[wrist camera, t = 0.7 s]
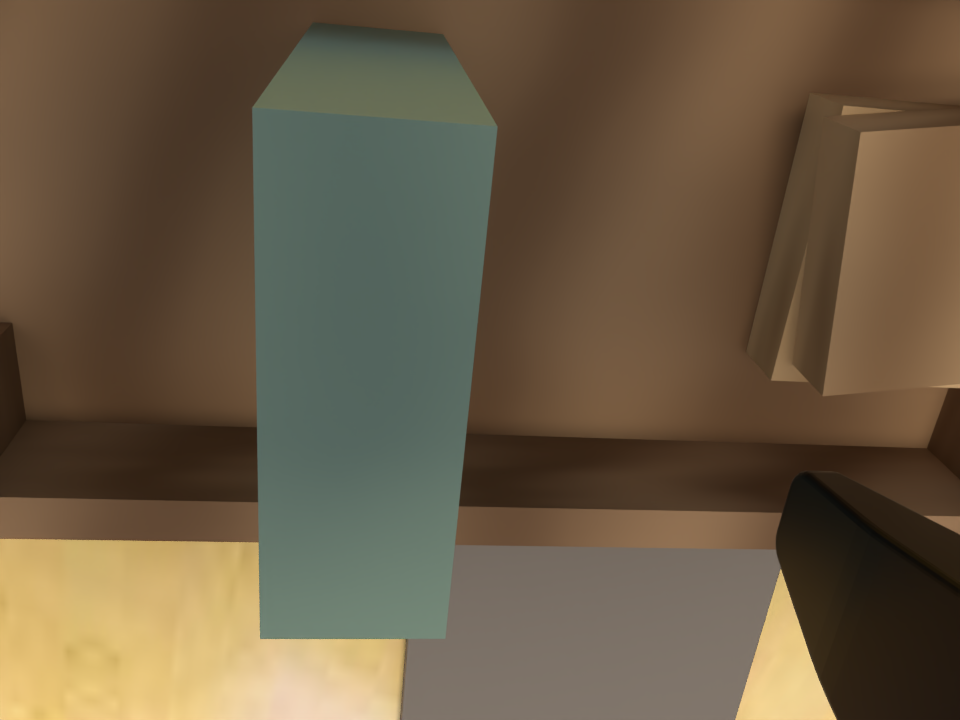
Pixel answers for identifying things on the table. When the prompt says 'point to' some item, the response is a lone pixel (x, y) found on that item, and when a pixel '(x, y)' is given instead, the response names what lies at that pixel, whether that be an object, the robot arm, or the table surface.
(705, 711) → the mat
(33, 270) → the rack
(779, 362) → the offcut
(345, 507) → the teal block
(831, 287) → the offcut
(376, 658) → the table surface
